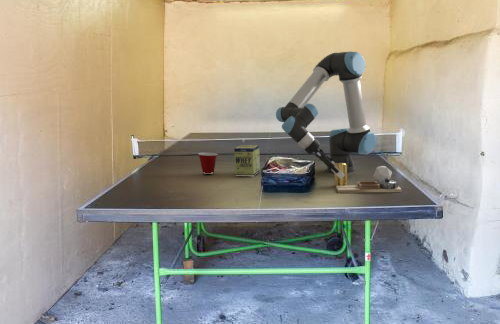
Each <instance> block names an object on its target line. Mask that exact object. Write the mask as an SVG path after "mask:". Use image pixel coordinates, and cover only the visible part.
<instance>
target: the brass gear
mask: <svg viewBox="0 0 500 324" xmlns="http://www.w3.org/2000/svg"><path fill="white" fill-rule="evenodd" d="M334 165H335V166H336V167H337V168H338V169H339V170H340V171H341V172H343V173H344V174H345V176H344V177H343V178H342V179H340V178H339V177H338V176H337V175H336V174H335V173H334V187H336V186H348V172H347V164H346V163H335V164H334Z"/></svg>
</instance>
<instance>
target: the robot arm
mask: <svg viewBox="0 0 500 324" xmlns="http://www.w3.org/2000/svg"><path fill="white" fill-rule="evenodd" d="M365 71H366V60H365V58H364V56H363V55H362V54H361V53H360V52H358V51H342V52H341V51H340V52H332V53H330V54H328V55H326V56H325V57H323V58H322V59H321V60H320V61H319V62H318V63H317V64H316V65H315V66H314V67H313V69H312V73H311V75H310V76H309V77H308V78H307V79H306V81H304V83H303V84H302V85H301V86H300V88H299V89H298V90H297V91H296V92H295V94H294V95H293V96H292V98H291V99H290V100H289V101H288V103H286V104H285V106H281V107H278V108H277V110H276V112H275V118H276V120H277V121H278V122H280V123H282V125H281V128H282V130H283V131H284V133H286V134H287V135H288V136H289V138H291V139H292V140H294V141H295V142H296V143H297V144H298V145H297V146H298V147H301V148H302V149H304V151H305V153H307V154H308V155H312V154H313V153H314V155H315V157H316V158H318V159H319V160H320V161H321V162H323V163H324V165H326V171H327V172H330V173H334V175H335V174H336V175H337V176H338V177H339V178H340V179H342V178H343V177H344V176H345V174H344V173H343V172H341V171H340V170H339V169H338V168H337V167H336V166H335V165H334V164H335V163H346V164H347V173H350V172H351V173H352V172H354V171H355V164H354V161H353V159H352V154H358V155H359V154H360V155H368V154H371V153H372V152H373V151H374V149H375V147H376V143H377V137H376V134H374V133H373V132H371V130H370V129H371V128H370V126H369V125H367V122H366V114H365V108H364V100H363V94H362V87H361V81H360V80H361V79H362V78H363V74H364V73H365ZM334 76H338V81H339V82H341V84H342V86H343V92H344V101H345V106H346V112H347V118H348V123H349V125H348V126H349V127H346V128H339V129H332V130H330V132H329V137H328V138H329V155H327V153H325V151H324V150H323V149H322V148H320V146H321V142H320V141H319V140H317V138H315V136H314V135H313V134H312V133H311V132H310V131H308V130H307V128H308V126H310V124H311V123H312V122H313V121H314V120H315V119H316V117H317V116H318V115H319V111H318V109H317V106H315V104H312V103H308V102H309V101H310V100H311V99H312V98H313V97H314V95H315V94H316V92H317V91H318V90H319V89H320V88H321V87H322V85H323V84H324V83H325V82H327V81H329V79H330V78H332V77H334Z"/></svg>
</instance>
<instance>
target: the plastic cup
mask: <svg viewBox="0 0 500 324" xmlns="http://www.w3.org/2000/svg"><path fill="white" fill-rule="evenodd" d="M197 155H198V156H199V160H200V161H199V162H200V167H201V172H202V173H203V172H205V173H211V172H214V173H215V167H216V160H217V156H218V155H219V154H218V153H216V152H198V153H197Z"/></svg>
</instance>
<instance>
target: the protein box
mask: <svg viewBox="0 0 500 324" xmlns="http://www.w3.org/2000/svg"><path fill="white" fill-rule="evenodd" d="M233 150H234V152H233V153H234V155H233V156H234V176H235V175H255V174H256V173H257V172H259V171H260V172H261V169H260V168H261V166H260V162H261V161H260V145H259V144H240V145H239V146H236V147H235V148H234V149H233ZM260 172H259V173H260Z"/></svg>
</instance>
